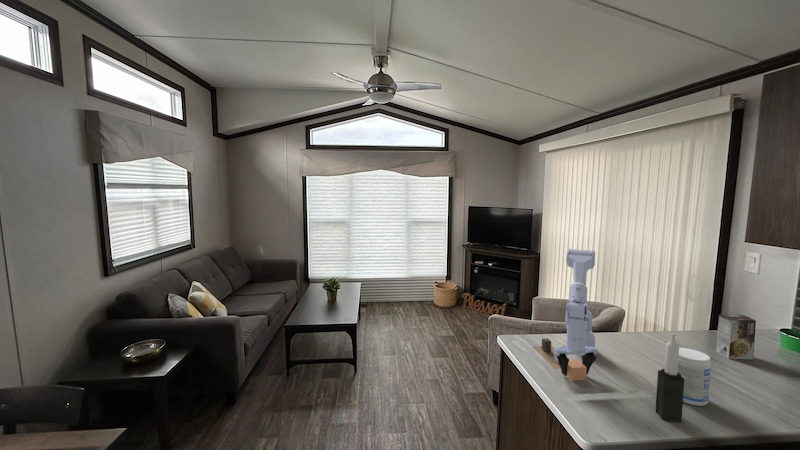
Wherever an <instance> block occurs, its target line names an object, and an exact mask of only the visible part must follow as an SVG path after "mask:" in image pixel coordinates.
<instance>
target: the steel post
mask: <svg viewBox="0 0 800 450" xmlns="http://www.w3.org/2000/svg"><path fill="white" fill-rule="evenodd" d="M554 361H555V362H556V363H557V364H560V363H559V361H558V358H557V356H556V355H555V354H554Z"/></svg>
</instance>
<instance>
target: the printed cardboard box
mask: <svg viewBox="0 0 800 450" xmlns="http://www.w3.org/2000/svg"><path fill="white" fill-rule="evenodd" d="M717 324H718V325H717V335H716V336H717V337H716V350H715V351H716V353H717V354H719V355H721V356H723V357H724V358H726V359H727V360H754V355H755V340H756V327H757V326H756V325H757V320H756V319H753V318H752V317H749V316H747V315H744V314H729V313H728V314H726V313H725V314H723V313H722V314H718V320H717Z"/></svg>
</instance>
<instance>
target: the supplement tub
mask: <svg viewBox="0 0 800 450" xmlns="http://www.w3.org/2000/svg"><path fill="white" fill-rule="evenodd" d="M711 363H712V362H711V357H710V355H708V354H706V353H704V352H702V351H699V350H695V349H692V348H686V347H679V358H678V372H679V374H681V376H682V377H683V378H684V393H683V404H684V403H685V404H688V405H691V406H697V407H701V406H706V405H707V404H709V399H710V397H709V396H710V384H711V382H710V381H711V370H712V369H711V368H712V367H711Z"/></svg>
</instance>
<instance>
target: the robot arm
mask: <svg viewBox="0 0 800 450" xmlns="http://www.w3.org/2000/svg"><path fill="white" fill-rule="evenodd" d="M565 262H566V265H567V267H569V268H571V269H572V271H573V273H572V274H573V275H572V276H573V283H572V284H571V285H569V288H568V289H569V291H568V293H569V294H568V300H567V301H568V302H567V303H566V308H565V317H564V318H565V319H564V327H565V328H566V345H564V346H563V345H562V346H560V347H553V348H554V354H555V355H556V356H557V358H558V361H559V363H560V367H561V368H560V370H561V374H562V375H563V376H564V377H565V376H566V377H567V367H568V363H569V360H570V358H568V355H578V356H581V361H582V362H581V363H582V364H583V365H584V366H586V367H587V373H586V376H588V375H589V372H590V369H591V367H592V365H593V364H594V363H595V361H596V360H597V356H596V355H597V354H598V348H596V337H595V334H594V333H593V314H592V312H591V311H590V310H589V305H588V287H587V273H588V271H589V270H593V269H594V268H595V265H596V251H595V250H594V249H593V250H586V249H573V248H572V249H571V248H568V249H566V260H565Z"/></svg>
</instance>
